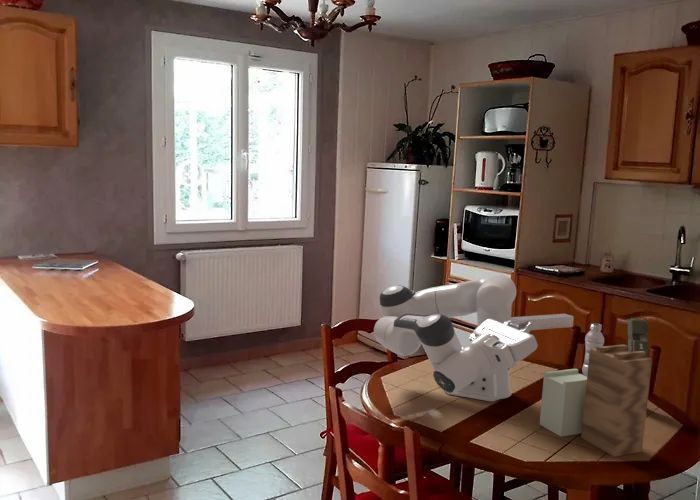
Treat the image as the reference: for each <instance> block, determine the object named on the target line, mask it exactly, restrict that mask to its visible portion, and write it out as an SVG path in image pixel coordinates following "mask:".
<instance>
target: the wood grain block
mask: <svg viewBox="0 0 700 500" xmlns="http://www.w3.org/2000/svg"><path fill="white" fill-rule="evenodd" d="M645 354H646V352H644V351H635V352H632V351H629V350H628V344H627V345H626V344H623V343H622V344H615V345H603V346H602V347H597V348H594V349H590V354H589V364H588V374H587V384H586V394H585V405H584V415H583V425H582V433H581V434H580V435H581V437H580V438H581V439H582V440H584V441H586V442H587V443H589V444H590V445H593V446H594V447H596V448H598V449H599V450H600V451H601V450H602V451H603V452H605V453H606V454H608V455H610V456H611V457H614V458H615V457H620V456H626V455H630V454H631V455H632V454H637V453H641V452H643V447H644V446H643V444H644V436H645V426H646V418H647V411H648V410H647V409H648V399H649V391H650V382H651V372H652V365H653V358H651V357H649V356H648V357H646V356H645Z"/></svg>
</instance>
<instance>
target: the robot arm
mask: <svg viewBox="0 0 700 500" xmlns="http://www.w3.org/2000/svg"><path fill="white" fill-rule="evenodd" d="M516 297H517V287H516V284H515V283H514V281H513V280H512V278H510V277H508V276H506V275H502V274H496V275H492V276H491V275H490V276H485V277H480V278H477V279H473V280H472V279H471V280H468V281H462V282H457V283H451V284H444V285H439V286H434V287H433V286H432V287H428V288H425V289H422V290H421V289H420V290H419V291H414V290H413V289H409V287H407V286H404V285H392V286H389V287H387V288H384V289H383V290H382V292H381V293H380V295H379V305H380V306H381V312H382V316H383V317H381V318H379V319H377V321H376V322H375V324H374V327H373V335H374V337H375V339H376V341H378V343H379V344H380V345H381V346H383V347H384V348H385V349H387V350H389V352H391V353H395V354H396V355H398V356H405V357H407V356H410V355H413V354H414V353H416V352H417V351H418V350H419V348H420V347H421V346H422V348H423V350H424V351H425V353H426V355H427V358H428V360H429V362H430V364H431V366H432V368H433V375H432V376H433V379H434V381H435V382H436V384H437V385H438V386H439V388H440V389H442V390H443V391H444V392H445V393H447V394H448V395H450V396H456V397H457V396H458V397H464V398H469V399H474V400H481V401H487V402H496V401H497V400H501V399H502V400H503V399H507V398H509V397H511V396H512V389H511V385H510V383H511V382H510V369H513V368H514V367H515V366H516V365H517V364H516V362H517V363H518V362H520V361H523V360H524V359H526V358H527V357H528V356H530V355H532V353H534V351H536V350H537V348H538V342H537V339H536V338H535V337H536V336H535V335H534V334H530V332H531V331H533V330H532V329H533V328H534V325H533V323H531V322H527V323H525V324H524V325H525V327H524V329H520V330H519V329H516V328H514V327H511V326H510V323H511V317H512V306H513V302H514V301H515V299H516ZM475 313H476V319H477V322H476V323H477V325H476V326H477V327H476V328H475V329H474V330H473V332H472V333H471V334H470V335H469V341H468V342H467V344H466V346H465V347H463V346H462V345H461V342H460V340H459V338H458V336H457V334H456V332H455V328H454V325H453V322H452V319H451V318H456V317H457V318H458V317H463V316H468V315H472V314H475Z"/></svg>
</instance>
